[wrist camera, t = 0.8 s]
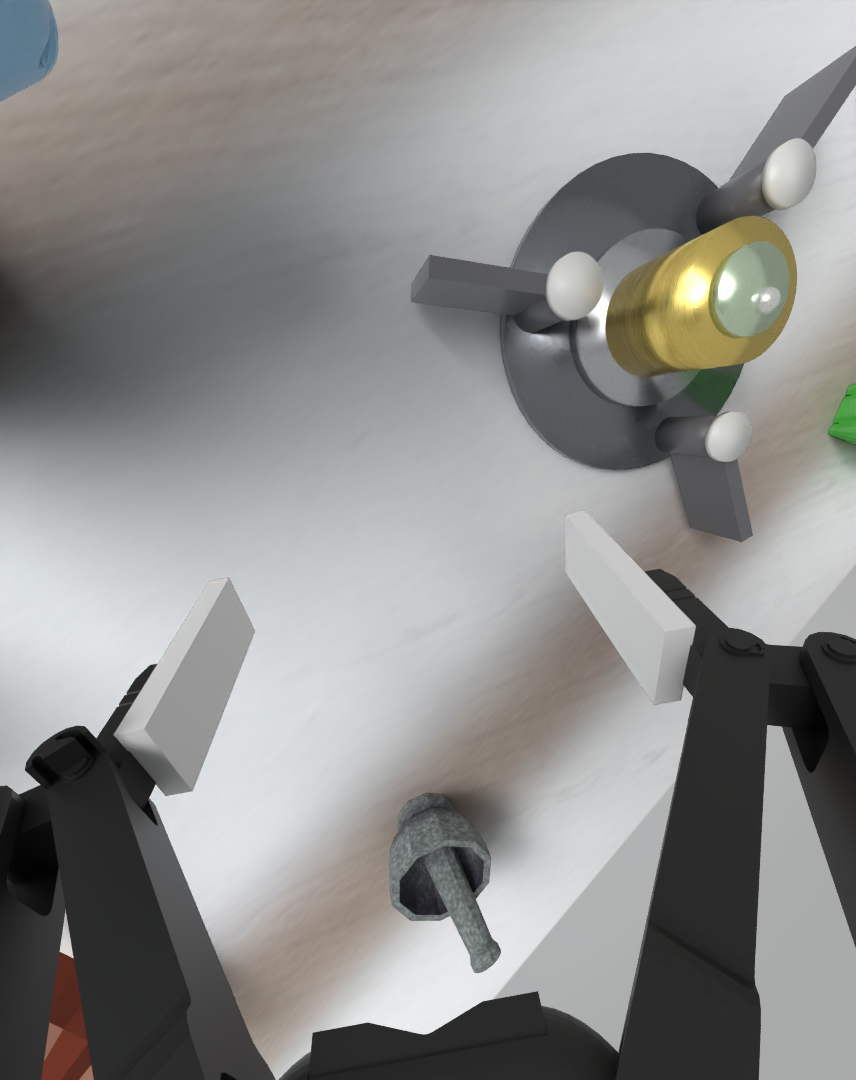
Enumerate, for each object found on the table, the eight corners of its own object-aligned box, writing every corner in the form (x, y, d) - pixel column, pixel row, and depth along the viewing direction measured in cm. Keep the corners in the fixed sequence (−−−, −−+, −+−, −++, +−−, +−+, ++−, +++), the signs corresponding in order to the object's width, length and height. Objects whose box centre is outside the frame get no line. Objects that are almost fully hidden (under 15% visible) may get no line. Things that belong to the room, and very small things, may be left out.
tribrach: (452, 238, 32) (524, 135, 20) (714, 108, 34) (914, -52, 22) (558, 514, 40) (653, 550, 28) (765, 396, 42) (930, 386, 30)
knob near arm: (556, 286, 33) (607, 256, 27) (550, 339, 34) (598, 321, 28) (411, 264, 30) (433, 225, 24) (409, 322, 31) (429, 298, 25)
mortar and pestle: (362, 819, 44) (376, 956, 32) (435, 763, 44) (474, 880, 33) (422, 872, 48) (454, 1011, 36) (489, 820, 48) (540, 942, 37)
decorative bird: (-209, 1016, 32) (-455, 1340, 19) (45, 803, 39) (-9, 933, 27) (90, 1132, 41) (60, 1397, 29) (248, 943, 49) (279, 1088, 36)
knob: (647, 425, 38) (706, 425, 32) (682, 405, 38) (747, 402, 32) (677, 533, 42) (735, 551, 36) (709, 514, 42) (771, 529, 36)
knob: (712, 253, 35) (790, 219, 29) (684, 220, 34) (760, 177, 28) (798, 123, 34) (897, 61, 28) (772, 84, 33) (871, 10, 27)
